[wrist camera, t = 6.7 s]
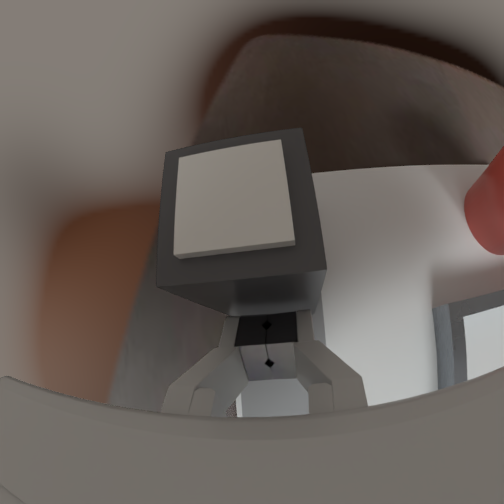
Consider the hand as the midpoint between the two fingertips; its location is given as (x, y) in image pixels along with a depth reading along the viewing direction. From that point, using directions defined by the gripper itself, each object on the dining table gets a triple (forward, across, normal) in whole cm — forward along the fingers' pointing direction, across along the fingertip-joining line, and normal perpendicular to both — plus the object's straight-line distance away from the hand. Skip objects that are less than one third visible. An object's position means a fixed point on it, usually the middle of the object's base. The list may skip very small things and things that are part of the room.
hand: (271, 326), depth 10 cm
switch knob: (+5, 0, +1) cm, 5 cm away
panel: (+4, -8, +4) cm, 9 cm away
